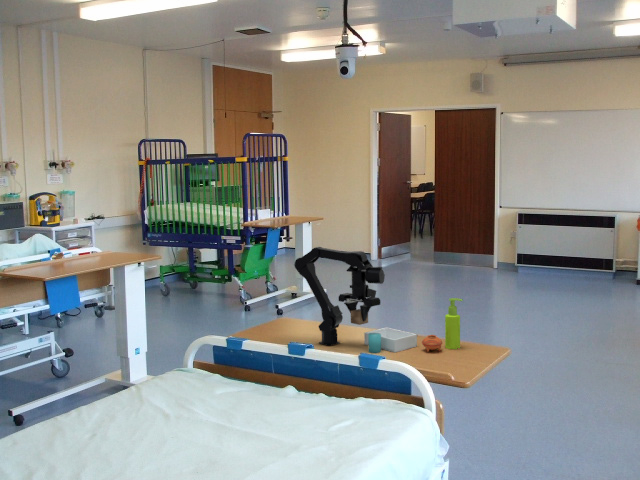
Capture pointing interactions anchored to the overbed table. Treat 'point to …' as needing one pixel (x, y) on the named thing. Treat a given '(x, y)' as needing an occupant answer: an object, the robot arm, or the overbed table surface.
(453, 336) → the soap dispenser
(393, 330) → the tote
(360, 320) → the walnut cube
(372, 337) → the teal cylinder
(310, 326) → the overbed table surface
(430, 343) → the pot
